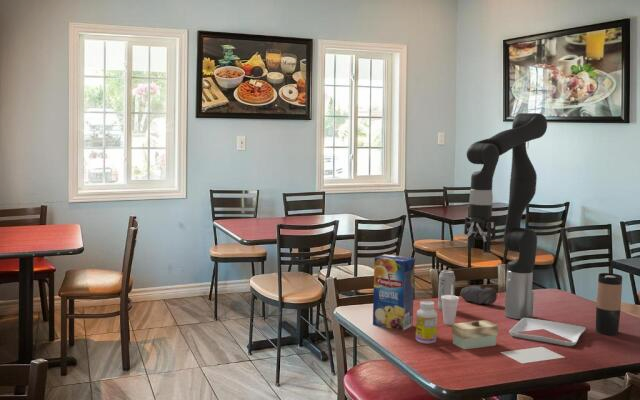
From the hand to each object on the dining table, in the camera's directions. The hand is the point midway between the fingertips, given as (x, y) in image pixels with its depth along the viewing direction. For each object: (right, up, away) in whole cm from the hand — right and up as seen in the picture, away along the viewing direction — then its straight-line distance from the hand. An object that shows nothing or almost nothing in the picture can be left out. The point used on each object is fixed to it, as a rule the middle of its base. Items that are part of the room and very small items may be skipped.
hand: (478, 250), depth 218 cm
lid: (-5, -25, -15) cm, 30 cm away
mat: (+10, -31, -24) cm, 40 cm away
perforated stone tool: (+9, -25, +40) cm, 48 cm away
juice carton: (-28, -27, +8) cm, 40 cm away
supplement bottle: (-19, -29, -9) cm, 36 cm away
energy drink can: (-6, -25, +29) cm, 39 cm away
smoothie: (-8, -27, +11) cm, 30 cm away
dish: (-5, -30, -15) cm, 34 cm away
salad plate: (+22, -30, -3) cm, 37 cm away
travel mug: (+45, -29, +4) cm, 54 cm away
